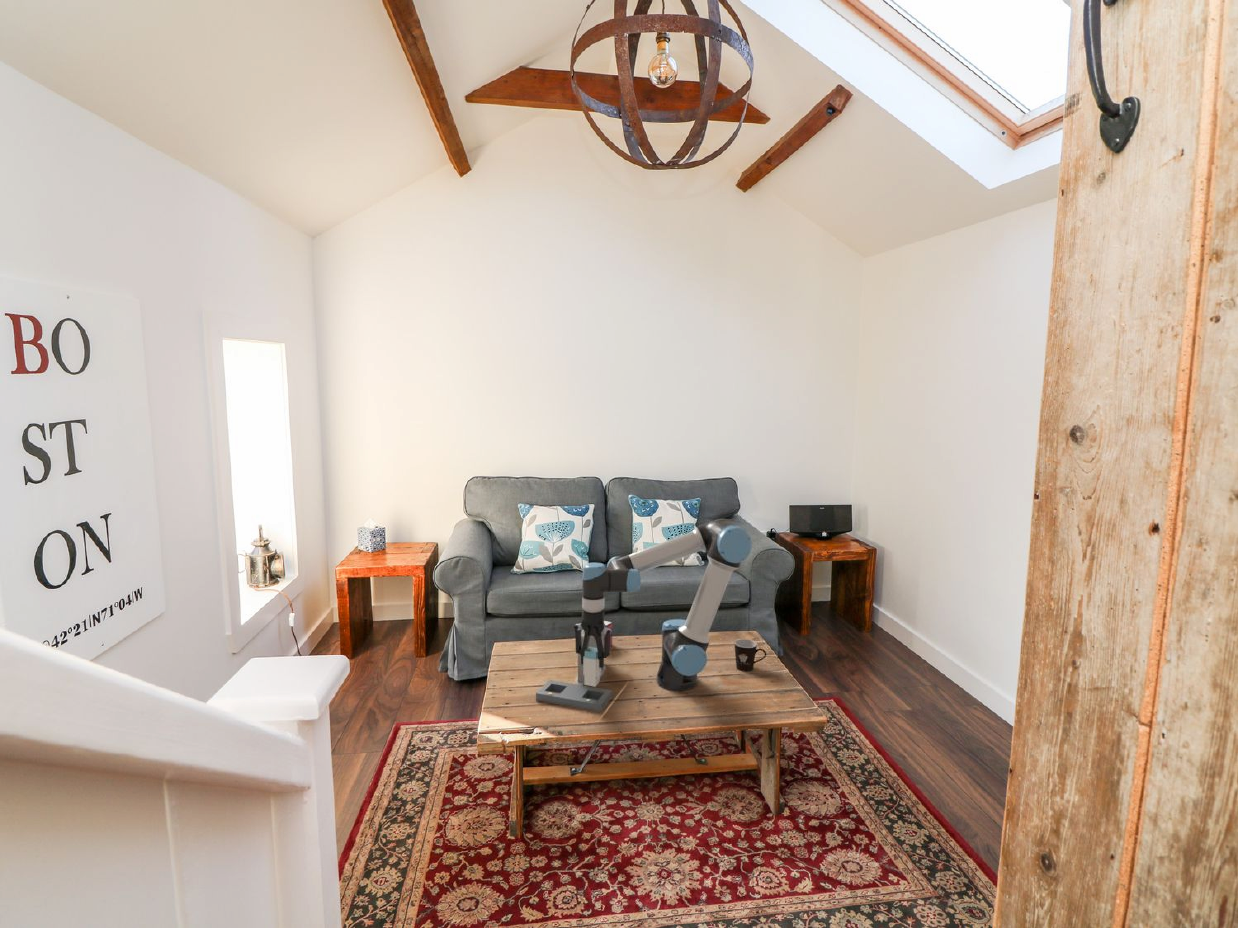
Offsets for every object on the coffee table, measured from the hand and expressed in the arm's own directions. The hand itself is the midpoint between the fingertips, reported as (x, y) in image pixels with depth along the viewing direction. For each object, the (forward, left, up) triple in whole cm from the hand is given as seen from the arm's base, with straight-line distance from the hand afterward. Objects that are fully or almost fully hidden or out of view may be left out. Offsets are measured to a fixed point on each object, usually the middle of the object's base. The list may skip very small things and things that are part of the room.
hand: (592, 674), depth 229 cm
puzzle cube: (+17, -47, -11) cm, 51 cm away
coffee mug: (-46, -47, -11) cm, 67 cm away
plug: (0, 0, -3) cm, 3 cm away
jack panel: (+7, 0, -10) cm, 12 cm away
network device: (+9, -21, -11) cm, 25 cm away
